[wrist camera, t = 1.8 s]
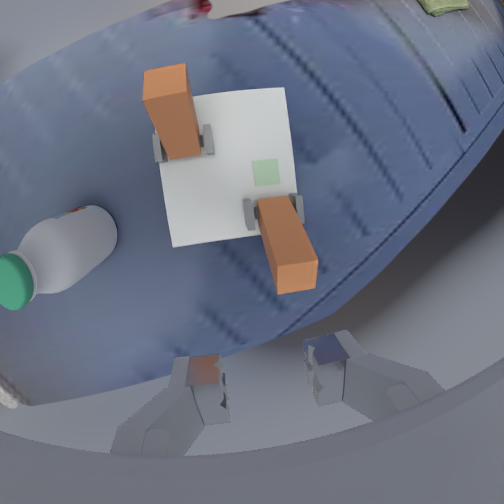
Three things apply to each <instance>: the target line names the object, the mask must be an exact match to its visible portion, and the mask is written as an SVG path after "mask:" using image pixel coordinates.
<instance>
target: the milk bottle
mask: <svg viewBox="0 0 504 504" xmlns="http://www.w3.org/2000/svg"><path fill="white" fill-rule="evenodd" d="M116 242H117V228H116V225H115V222H114V220H113V218H112V217H111V215H110V214H109V213H108V212H107V211H106V210H104V209H103V208H101V207H99V206H94V205H89V206H84V207H80V208H77V209H74V210H71V211H68V212H65V213H62V214H59V215H56V216H53V217H50V218H48V219H46V220H43V221H41V222H39V223H38V224H36V225H35V226H34V227H32V228H31V229H30V230H29V231H28V232H27V234H26V235H25V236H24V238H23V239H22V241H21V243H20V245H19V247H18V248H17V250H16V251H10V252H8V253H6V254H4V255H1V256H0V303H1V304H2V305H3V306H4V307H5V308H7V309H9V310H19V309H21V308H22V307H24V306H25V305H26V304H27V303H28V302H29V301H31V300H32V299H33V298H34V297H35V295H36V294H38V293H57V292H61V291H64V290H66V289H68V288H69V287H71V286H73V285H74V284H75V283H77V282H78V281H79V280H80V279H82V278H83V277H84V276H85V275H86V274H88V273H89V272H90V271H91V270H92V269H94V268H95V267H96V266H97V265H98V264H100V263H101V262H102V261H103V260H104V259H106V258H107V257H108V256H109V255H110V254H111V253H112V251H113V250H114V248H115V245H116Z"/></svg>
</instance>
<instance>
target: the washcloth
mask: <svg viewBox="0 0 504 504" xmlns="http://www.w3.org/2000/svg"><path fill="white" fill-rule="evenodd" d="M418 1H419V2H420V4H421V5H422V6H423V8H424V10H425V11H426V12H427V13H428V14H430V15H431V14H432V15H434V16H438V15H439V16H440V15H442V14H444V13H446V12H449V11H451V10H453V11H454V10H457V9H468V8H469V4H468V2H467V0H418Z"/></svg>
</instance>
